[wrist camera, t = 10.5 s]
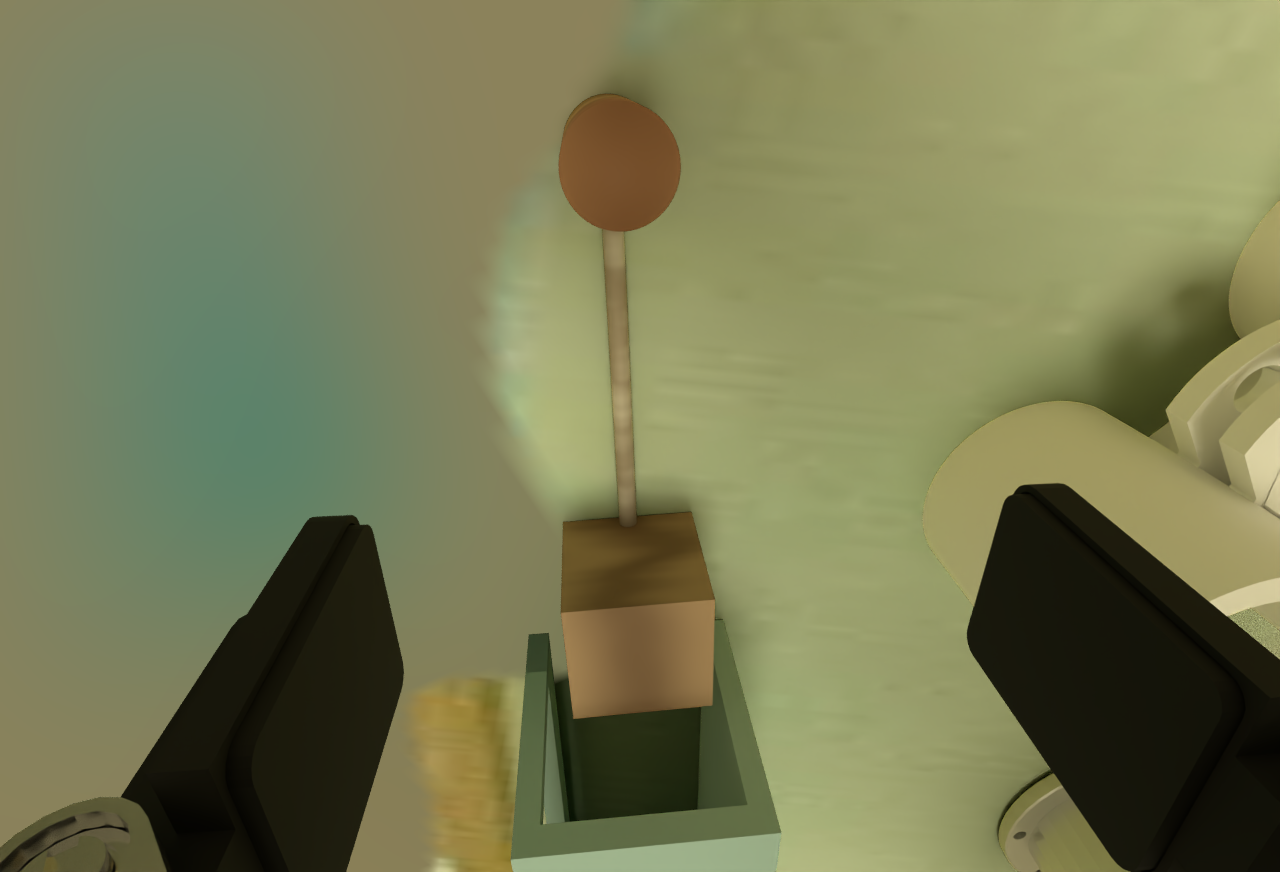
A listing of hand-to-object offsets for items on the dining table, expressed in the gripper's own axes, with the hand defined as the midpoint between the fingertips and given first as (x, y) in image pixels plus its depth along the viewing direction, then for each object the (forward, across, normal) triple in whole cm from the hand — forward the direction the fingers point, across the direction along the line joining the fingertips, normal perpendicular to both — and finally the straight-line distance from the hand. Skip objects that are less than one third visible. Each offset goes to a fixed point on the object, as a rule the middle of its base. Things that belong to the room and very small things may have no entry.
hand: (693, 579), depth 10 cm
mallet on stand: (+18, 0, +5) cm, 19 cm away
